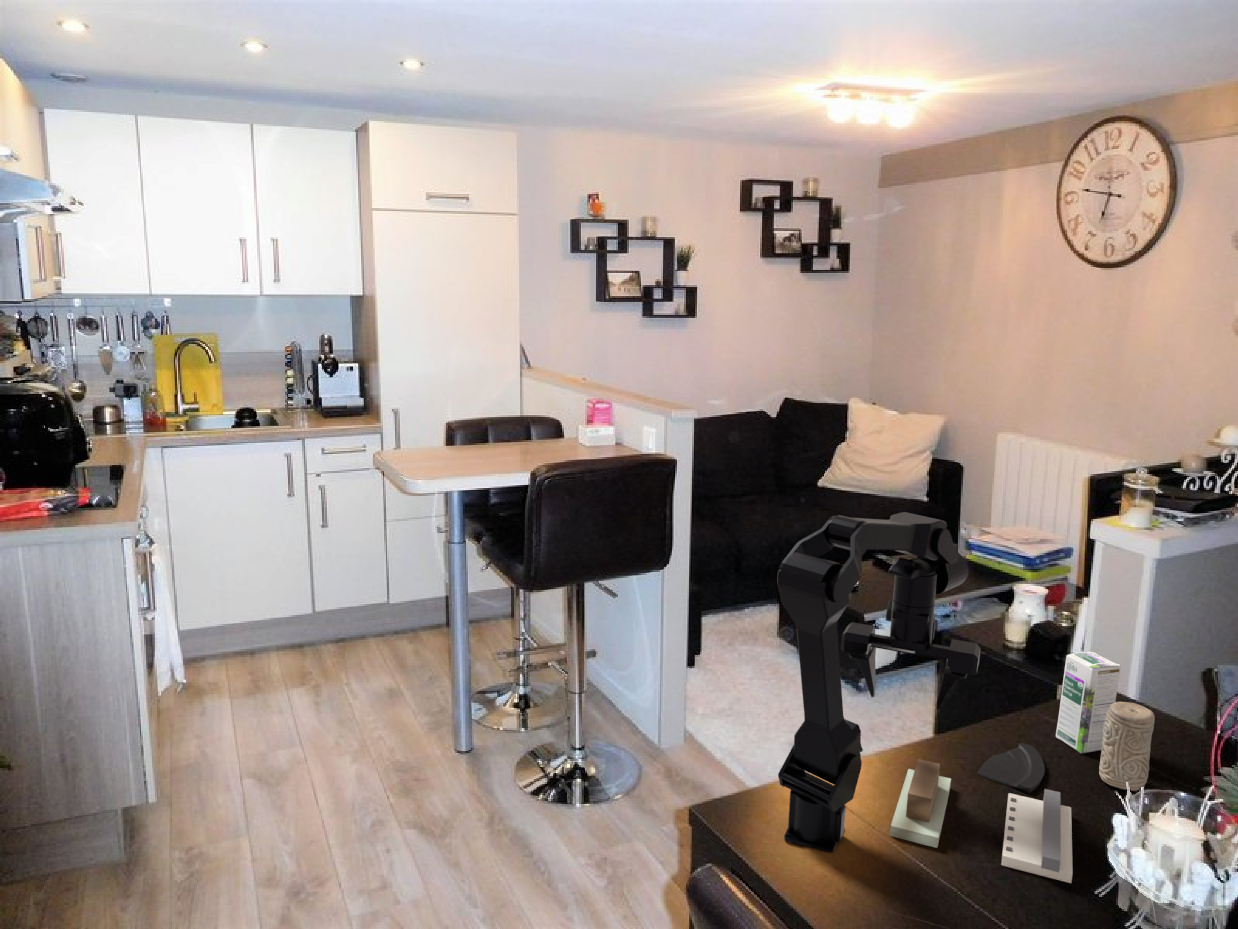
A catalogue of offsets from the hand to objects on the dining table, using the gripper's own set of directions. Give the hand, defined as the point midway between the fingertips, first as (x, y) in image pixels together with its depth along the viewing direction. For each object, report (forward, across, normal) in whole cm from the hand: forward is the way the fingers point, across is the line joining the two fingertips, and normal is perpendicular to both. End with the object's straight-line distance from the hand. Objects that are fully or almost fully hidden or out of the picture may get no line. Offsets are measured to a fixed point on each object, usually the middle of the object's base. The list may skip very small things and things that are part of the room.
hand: (905, 702), depth 134 cm
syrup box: (+12, -25, -24) cm, 37 cm away
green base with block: (+12, -4, +8) cm, 15 cm away
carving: (+12, -30, -13) cm, 35 cm away
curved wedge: (+13, -16, -10) cm, 23 cm away
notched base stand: (+12, -19, +8) cm, 24 cm away
